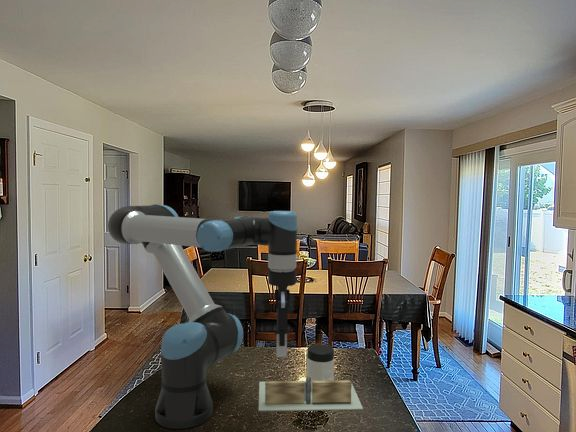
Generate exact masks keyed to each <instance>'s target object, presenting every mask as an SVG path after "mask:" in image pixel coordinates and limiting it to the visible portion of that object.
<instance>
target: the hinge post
mask: <svg viewBox="0 0 576 432" xmlns="http://www.w3.org/2000/svg"><path fill="white" fill-rule="evenodd" d="M305 381H306V404H310V403H311V378H310V377H307V378H305Z"/></svg>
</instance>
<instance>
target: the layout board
mask: <svg viewBox="0 0 576 432" xmlns="http://www.w3.org/2000/svg"><path fill="white" fill-rule="evenodd" d="M303 381H304V403H265V381H259V382H258V383H259V385H258V387H259V389H258V391H259V392H258V412H298V411H301V412H304V411H306V412H307V411H360V410H361V411H362V410H364V407H363V405H362V403H361V401H360V399H359V396H358V394H357V391H356V389H355V387H354V385H353V382H352V381H351V384H352V387H351V402H324V403H313V402H312V391H311V403H310V404H306V380H303Z"/></svg>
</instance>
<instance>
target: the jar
mask: <svg viewBox="0 0 576 432" xmlns="http://www.w3.org/2000/svg"><path fill="white" fill-rule="evenodd" d="M334 358H335V349H334V348H333V347H332V346H331V345H328V344H322V343H317V344H316V343H315V344H311V345H309V346H308V347H307V353H306V375H305V376H306V378H307V377H310V378H311V391H312V381H335V377H334V376H335V359H334ZM306 378H305V379H306Z"/></svg>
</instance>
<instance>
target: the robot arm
mask: <svg viewBox="0 0 576 432" xmlns="http://www.w3.org/2000/svg"><path fill="white" fill-rule="evenodd" d="M297 217H298V216H297V213H296V212H294V211H292V210H273V211H272V210H271V211H270V212H269V213H268V217H257V216H256V217H255V216H246V215H245V216H243V215H241V216H235V217H234V218H233V217H232V218H229V219H228V218H227V219H217V218H216V219H215V218H214V219H213V218H198V217H183V216H179V215H178V213H177V212H176V210H174V209H173V208H172V207H171V206H168V205H165V204H158V203H157V204H149V205H126V206H123V207H119V208H118V209H116V210H114V212H113V213H112V214H111V215H110V217H109V219H108V223H107V230H108V233H109V235H110V237H111V238H112V239H113V240H114V241H115V242H117V243H120V244H124V245H138V244H142V246H143V248H144V250H145V252H147V253H148V254H152V255H154V258H155V259H156V261H157V262H158V264H159V266H160V268H161V270H162V272H163V274H164V276H165V277H166V279H167V281H168V283H169V286H170V287H171V288H172V290H173V292H174V294H175V296H176V297H177V300H178V301H179V303H180V305H181V306H182V308H183V310H184V311H185V314H186V316H187V317H188V319H189V320H188V322H185V323H179V324H176V325H173V326H171V327H169V328H168V329H167V330H166V331H165V332H164V333H163V335H162V338H161V345H160V346H161V347H160V353H161V354H160V356H161V357H160V359H161V389H160V392H159V396H158V399H157V401H156V404H155V408H154V409H155V410H154V414H155V415H154V417H155V422H156V423H157V424H158V425H160V426H161V427H164V428H167V429H170V430H171V429H172V430H184V429H190V428H191V429H192V428H194V427H197V426H200V425H202V424H204V423H205V422H207V421H208V420H209V419H210V418H211V417H212V415H213V410H214V403H213V398H212V396H211V392H210V390H209V388H208V387H209V386H208V384H207V368H209V367H210V366H212V365H214V364H216V363H218V362H219V361H221V360H223V359H224V358H228V357H230V356H231V355H232V354H233V353H235V352H237V351H238V350H239V349H240V347H241V345H242V343H243V338H244V329H243V325H242V323H241V321H240V319H239V318H238V317H237V316H236V315H235V314H231V313H226V311H225V310H224V307H223V306H222V305H219V304H217V303H216V304H215V302H214V300H213V299H212V297H211V295H210V293H209V292H208V289H207V288H206V287H205V284H204V282H203V281H202V280H201V278H200V276H199V275H198V272H197V270H196V268H195V267H194V265H193V264H192V262H191V260H190V258H189V257H188V254H187V253H186V251H185V250H184V248H183V246H184V247H192V248H193V247H194V248H202V249H203V250H204V251H205V252H211V253H215V252H222V251H225V250H230V249H236V248H240V247H245V246H250V245H251V246H255V245H256V246H267V247H268V253H267V255H268V256H267V268H268V269H269V270H268V272H267V274H268V275H267V277H268V280H267V281H268V284H269V285H270V286H273V287H277V289H274V298H275V309H276V330H274V335H276V358H287V355H288V332H289V331H290V327H288V314H289V310H288V309H289V308H290V306H289V305H290V299H291V291H290V289H288V287H292V286H294V285H296V284H297V270H296V268H297V261H299V260H300V258H299V256H297V254H298V253H297V245H298V243H297V239H298V219H297Z"/></svg>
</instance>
